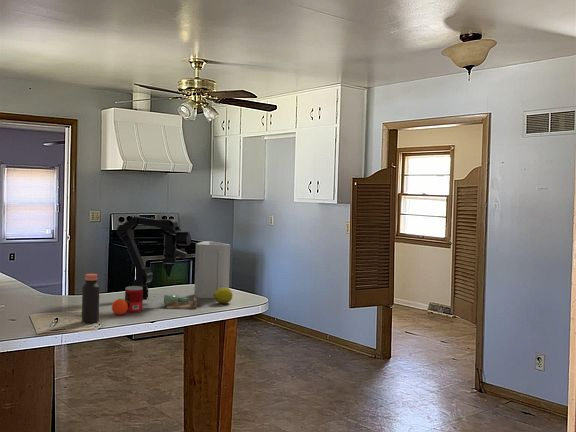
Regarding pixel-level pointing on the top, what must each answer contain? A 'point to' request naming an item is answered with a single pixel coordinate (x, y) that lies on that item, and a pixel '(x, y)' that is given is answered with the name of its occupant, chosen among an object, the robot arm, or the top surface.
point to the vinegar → (90, 299)
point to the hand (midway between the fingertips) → (169, 275)
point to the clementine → (120, 306)
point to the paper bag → (211, 268)
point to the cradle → (182, 304)
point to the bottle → (174, 298)
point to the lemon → (223, 295)
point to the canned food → (134, 298)
